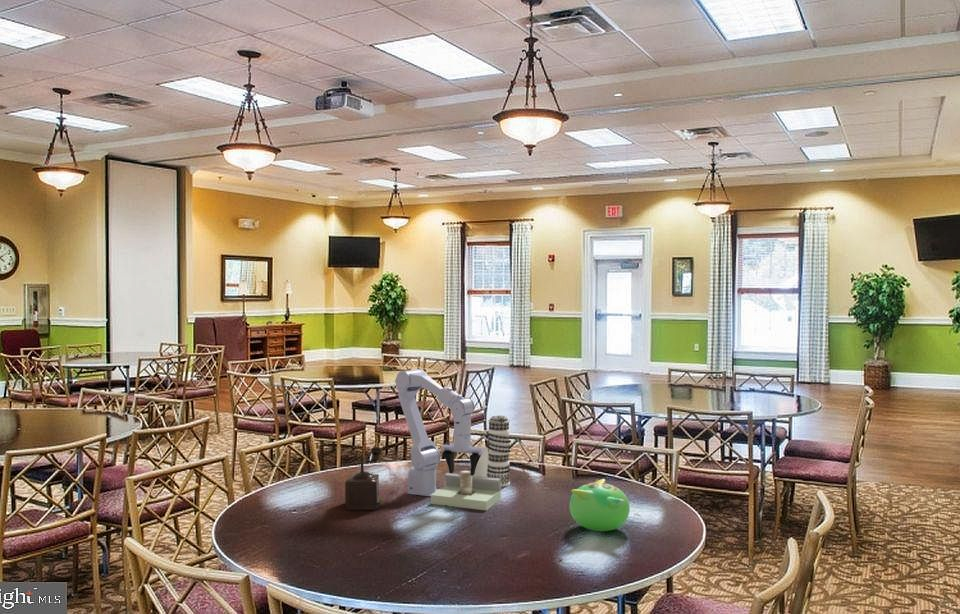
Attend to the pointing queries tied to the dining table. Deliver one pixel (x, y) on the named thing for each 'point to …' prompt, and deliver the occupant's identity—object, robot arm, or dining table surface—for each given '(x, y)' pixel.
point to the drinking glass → (482, 463)
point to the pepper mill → (363, 487)
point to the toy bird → (599, 506)
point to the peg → (465, 483)
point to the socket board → (481, 498)
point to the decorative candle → (499, 449)
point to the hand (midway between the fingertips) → (462, 473)
